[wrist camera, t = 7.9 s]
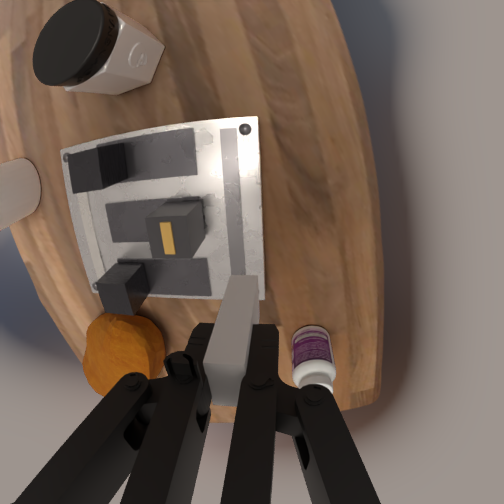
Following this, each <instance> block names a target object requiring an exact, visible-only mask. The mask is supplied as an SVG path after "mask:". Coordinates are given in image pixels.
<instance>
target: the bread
mask: <svg viewBox="0 0 504 504" xmlns="http://www.w3.org/2000/svg"><path fill="white" fill-rule="evenodd" d="M165 358H166V351H165V345H164V340H163V336H162V334H161V331H160V330H159V329H158V328H157V327H156V325H155V324H154V323H153V322H152V321H151V320H149V319H147V318H145V317H141V316H138V315H134V316H132V315H122V314H113V313H105V314H102V315H100V316H99V317H98V318H96V319H95V320H94V321H93V322H92V323H91V324H90V326H89V327H88V330H87V347H86V351H85V355H84V359H83V363H82V364H83V370H84V373H85V376H86V378H87V380H88V383H89V384H90V385H91V387H92V388H93V389H94V390H95V392H97V393H98V394H100V395H102V396H104V397H105V396H106V394H107V393H108V392H109V391H110V390H111V389H112V388H113V386H114V385H115V384H116V383H117V382H118V381H119V380H120V379H121V378H122V377H123V376H124V375H125V374H128V373H130V372H140V373H143V374H144V375H146V377H147V378H148V379H156V377H157V376H158V374H159V373H160V371H161V369H162V367H163V365H164V362H163V361H164V359H165Z"/></svg>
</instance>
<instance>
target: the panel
mask: <svg viewBox="0 0 504 504" xmlns="http://www.w3.org/2000/svg"><path fill="white" fill-rule="evenodd" d="M60 152H61V160H62V168H63V174H64V181H65V187H66V192H67V198H68V203H69V208H70V213H71V217H72V222H73V226H74V230H75V234H76V238H77V242H78V246H79V249H80V253H81V257H82V260H83V263H84V267H85V270H86V273H87V276H88V280H89V283H90V286H91V289H92V292H93V293H99V296H100V298H101V301H102V304H103V307H104V310H105V312H106V313H113V314H122V315H132V316H134V315H135V313H136V312H137V310H138V309H139V307H140V306H141V305H142V303H143V302H144V300H145V299H146V297H166V298H190V299H223V297H224V294H225V291H226V287H227V284H228V281H229V278H230V275H258V289H259V300H265V293H266V285H265V254H264V226H263V201H262V177H261V154H260V133H259V117H257V116H256V117H239V118H225V119H214V120H204V121H196V122H188V123H180V124H173V125H167V126H160V127H154V128H149V129H143V130H138V131H133V132H128V133H123V134H119V135H114V136H110V137H106V138H101V139H97V140H93V141H90V142H86V143H82V144H79V145H75V146H72V147H68V148H65V149H62V150H60ZM183 201H201V202H202V212H203V221H204V230H205V239H204V240H203V242H202V244H201V245H200V247H199V248H198V250H197V252H196V253H195V255H194V256H193V258H152V254H151V249H150V244H149V239H148V234H147V228H146V222H145V217H146V216H147V215H149V214H150V213H151V212H153V211H154V210H156V209H157V208H158V207H160V206H161V205H162V204H164V203H168V202H183Z"/></svg>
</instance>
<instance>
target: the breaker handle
mask: <svg viewBox="0 0 504 504" xmlns="http://www.w3.org/2000/svg"><path fill="white" fill-rule="evenodd" d="M145 222H146V228H147V234H148V239H149V244H150V249H151V254H152V258H193V256H194V255H195V253H196V252H197V250H198V248H199V247H200V245H201V244H202V242H203V240H204V239H205V230H204V221H203V212H202V202H201V201H183V202H168V203H164V204H162V205H161V206H160V207H158V208H157V209H156V210H154V211H153V212H151V213H150V214H149V215H147V216H146V217H145Z"/></svg>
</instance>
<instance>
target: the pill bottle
mask: <svg viewBox="0 0 504 504" xmlns="http://www.w3.org/2000/svg"><path fill="white" fill-rule="evenodd" d="M335 376H336V367H335V362H334V357H333V351H332V346H331V341H330V337H329V334H328V332H327V331H326V330H325V329H323V328H322V327H319V326H306V327H303V328H301V329H299V330H298V331H297V332H296V333H295V334H294V335H293V338H292V377H293V381H294V383H295V384H296V385H297V386H298V388H299V389H300V388H302V387H303V386H306V385H308V384H320V385H323V386H325V387H327V388H328V389H329V390H330V391H331V393H333V383H332V382H333V381H334V379H335Z"/></svg>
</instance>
